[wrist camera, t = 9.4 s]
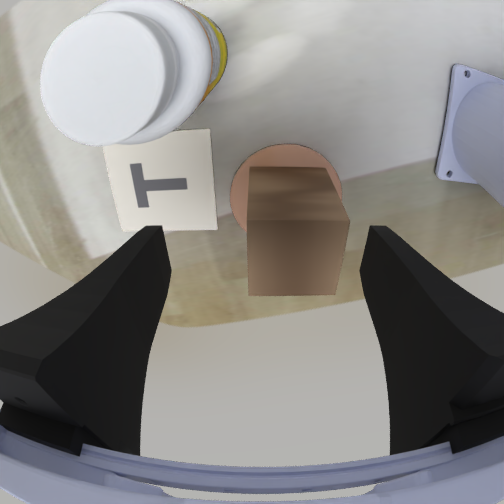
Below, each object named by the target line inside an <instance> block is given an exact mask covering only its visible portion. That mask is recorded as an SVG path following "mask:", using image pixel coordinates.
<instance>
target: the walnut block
mask: <svg viewBox="0 0 504 504" xmlns="http://www.w3.org/2000/svg"><path fill="white" fill-rule="evenodd" d="M349 224H350V220H349V217H348V215H347V213H346V211H345V208H344V206H343V204H342V202H341V199H340V197H339V195H338V193H337V191H336V189H335V186H334V184H333V182H332V180H331V178H330V176H329V174H328V172H327V170H326V168H320V167H250V168H249V186H248V203H247V256H248V292H249V296H304V295H335V294H336V290H337V285H338V280H339V276H340V271H341V266H342V261H343V256H344V251H345V246H346V241H347V235H348V230H349Z"/></svg>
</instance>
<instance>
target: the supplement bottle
mask: <svg viewBox="0 0 504 504" xmlns="http://www.w3.org/2000/svg"><path fill="white" fill-rule="evenodd" d="M227 55H228V53H227V45H226V41H225V38H224V36H223V34H222V32H221V30H220V29H219V27H218V26H217V25H216V24H215V23H214V22H213V21H212V20H211V19H209V18H208V17H206V16H205V15H203V14H201V13H199V12H197V11H195V10H193V9H191V8H189V7H187V6H185V5H183V4H180V3H178V2H176V1H174V0H108V1H106V2H104V3H102V4H100V5H99V6H97V7H95V8H94V9H92V10H91V11H90V12H89V13H88V14H87V15H85V16H84V17H82V18H80V19H78V20H76V21H75V22H73V23H72V24H70V25H69V26H68V27H66V28H65V29H64V30H63V31H62V32H61V33H60V34H59V35H58V36H57V38H56V39H55V40H54V42H53V43H52V45H51V46H50V48H49V50H48V52H47V54H46V57H45V59H44V62H43V65H42V70H41V76H40V92H41V97H42V102H43V105H44V108H45V110H46V113H47V115H48V116H49V118H50V120H51V121H52V123H53V124H54V125H55V127H56V128H57V129H58V130H59V131H60V132H62V133H63V134H64V135H65V136H67V137H68V138H70V139H72V140H74V141H76V142H78V143H81V144H84V145H89V146H108V145H113V144H122V145H133V144H142V143H147V142H150V141H153V140H156V139H159V138H161V137H163V136H165V135H167V134H169V133H170V132H172V131H173V130H175V129H176V128H177V127H179V126H180V125H181V124H182V123H183V122H184V121H186V120H187V119H188V118H189V116H190V115H191V114H192V113H193V112H194V111H195V110H196V108H197V107H198V106H199V105H200V104H201V102H202V101H204V99H205V98H206V96H207V95H208V94H209V93H210V91H211V90H212V89H213V88H214V87H215V86H216V84H217V83H218V82H219V80H220V79H221V77H222V75H223V73H224V70H225V67H226V63H227Z"/></svg>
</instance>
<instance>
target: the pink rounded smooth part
mask: <svg viewBox="0 0 504 504" xmlns="http://www.w3.org/2000/svg"><path fill="white" fill-rule="evenodd" d="M250 167H320V168H326V170H327V172H328V174H329V176H330V178H331V180H332V182H333V184H334V186H335V189H336V191H337V193H338V195H339V197H340V199H341V201H342V188H341V183H340V180H339V178H338V175H337V173H336V171H335V170H334V168H333V166H332V165H331V164H330V163H329V161H328V160H327V159H326V158H325V157H323V156H322V155H321V154H319V153H318V152H316V151H314V150H312V149H310V148H308V147H305V146H301V145H297V144H278V145H272V146H269V147H266V148H263V149H261V150H259V151H257V152H256V153H254V154H252V155H251V156H250V157H249V158H247V159H246V160H245V161H244V162H243V163H242V165H241V166H240V167H239V169H238V170H237V172H236V174H235V176H234V179H233V182H232V186H231V192H230V203H231V208H232V212H233V214H234V217H235V219H236V220H237V222H238V223H239V225H240V226H241V227H242V228H243V229H244V230H245V231H246V232H247V203H248V186H249V168H250Z"/></svg>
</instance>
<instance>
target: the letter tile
mask: <svg viewBox="0 0 504 504" xmlns="http://www.w3.org/2000/svg"><path fill="white" fill-rule="evenodd" d="M103 152H104V157H105V161H106V166H107V171H108V175H109V180H110V184H111V189H112V193H113V197H114V201H115V205H116V209H117V213H118V217H119V221H120V225H121V228H122V231H140V230H141V229H142V228H143V227H145V226H150V225H162V227H163V231H168V230H218V226H217V215H216V203H215V190H214V177H213V164H212V150H211V135H210V129H193V130H178V131H172V132H170V133H169V134H167V135H165V136H163V137H161V138H159V139H156V140H153V141H150V142H147V143H142V144H133V145H122V144H113V145H108V146H103Z"/></svg>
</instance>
